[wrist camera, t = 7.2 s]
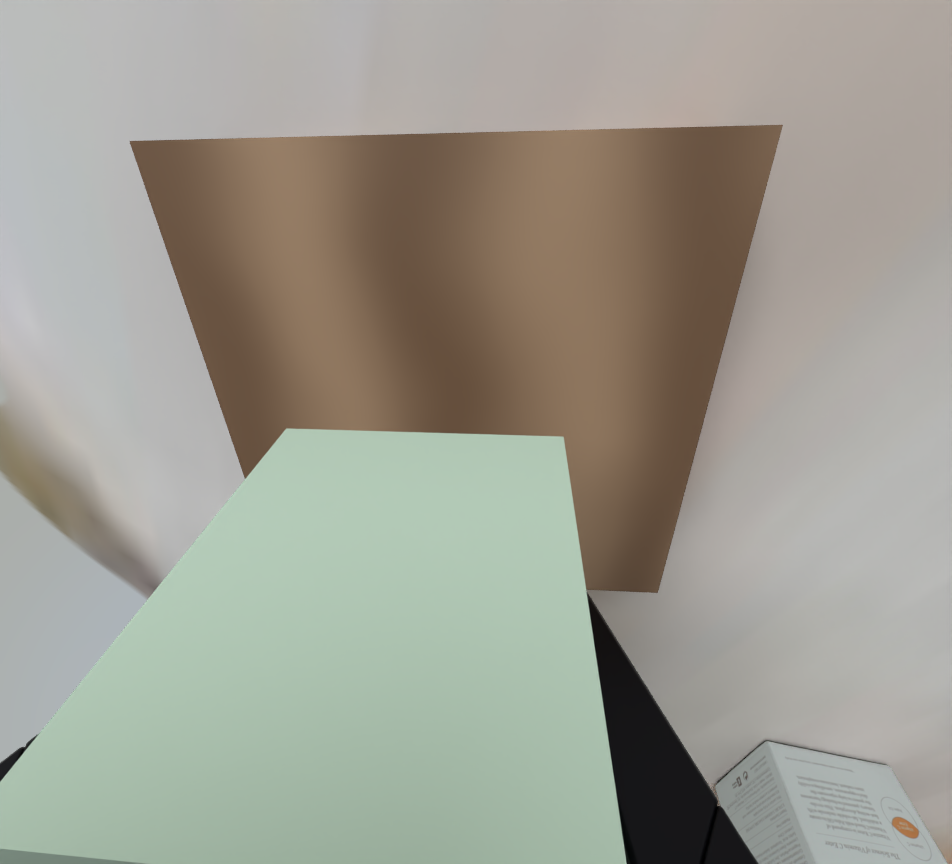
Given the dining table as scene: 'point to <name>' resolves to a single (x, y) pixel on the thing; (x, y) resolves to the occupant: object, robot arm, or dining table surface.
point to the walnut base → (475, 296)
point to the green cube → (346, 676)
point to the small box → (823, 810)
